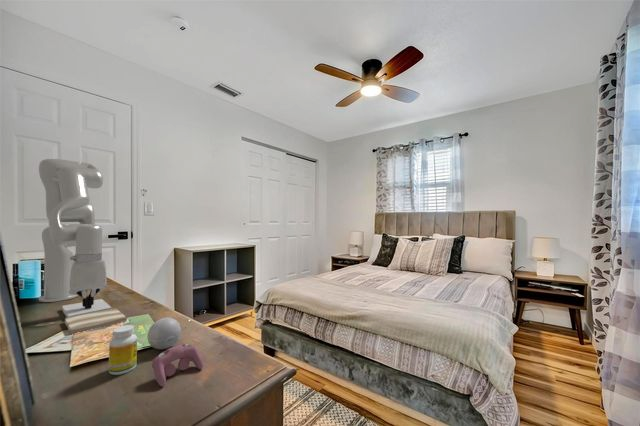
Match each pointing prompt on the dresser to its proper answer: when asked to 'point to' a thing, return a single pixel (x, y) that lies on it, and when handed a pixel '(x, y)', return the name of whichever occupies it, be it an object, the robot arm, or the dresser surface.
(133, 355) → the supplement bottle
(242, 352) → the dresser surface
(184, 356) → the video game controller
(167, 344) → the bath bomb
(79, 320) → the birch board
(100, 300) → the grey plank
